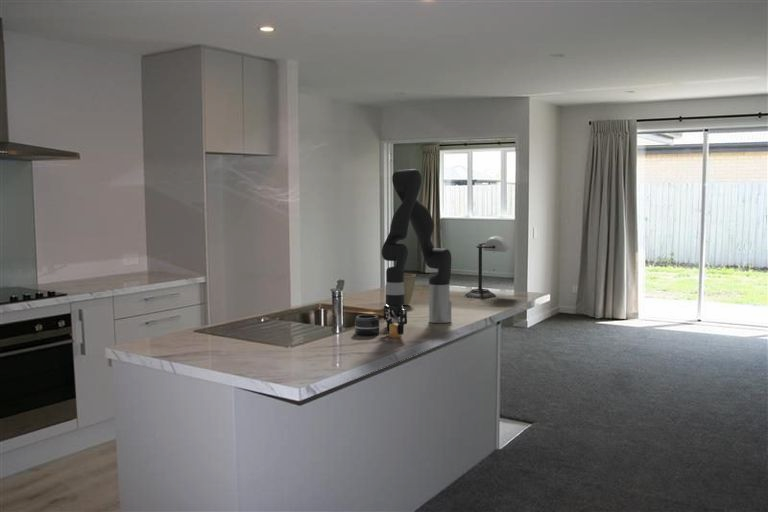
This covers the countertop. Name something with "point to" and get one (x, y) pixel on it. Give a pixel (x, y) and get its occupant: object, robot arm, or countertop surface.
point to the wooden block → (394, 330)
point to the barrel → (367, 325)
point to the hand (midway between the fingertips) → (395, 332)
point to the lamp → (490, 245)
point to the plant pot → (408, 287)
